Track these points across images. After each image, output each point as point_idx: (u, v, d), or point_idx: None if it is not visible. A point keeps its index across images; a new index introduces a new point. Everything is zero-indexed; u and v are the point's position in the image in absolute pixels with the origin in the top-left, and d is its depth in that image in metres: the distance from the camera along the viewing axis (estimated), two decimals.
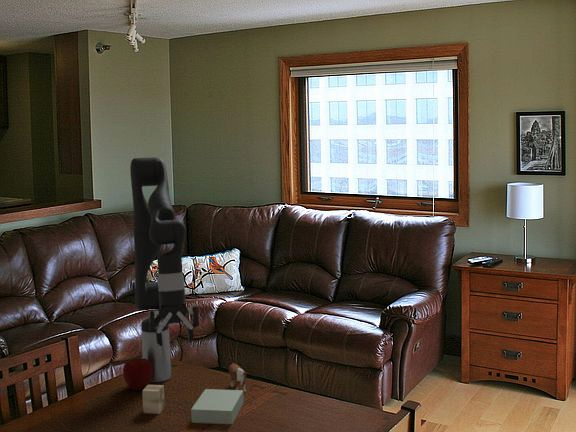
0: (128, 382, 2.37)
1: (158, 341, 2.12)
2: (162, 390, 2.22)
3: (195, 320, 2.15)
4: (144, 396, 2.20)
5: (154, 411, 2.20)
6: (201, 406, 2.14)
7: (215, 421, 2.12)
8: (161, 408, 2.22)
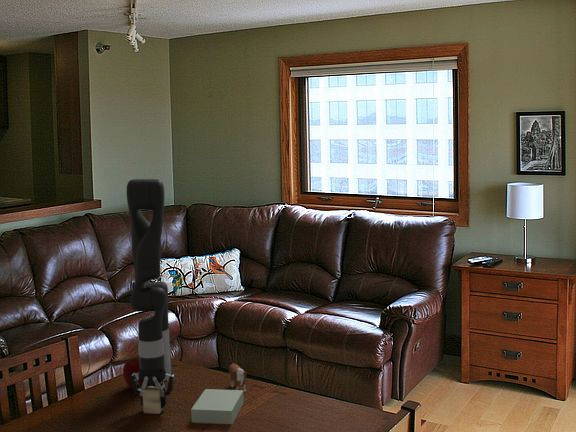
0: (128, 382, 2.37)
1: (142, 403, 2.22)
2: None
3: (168, 389, 2.20)
4: (144, 396, 2.20)
5: (154, 411, 2.20)
6: (201, 406, 2.14)
7: (215, 421, 2.12)
8: None
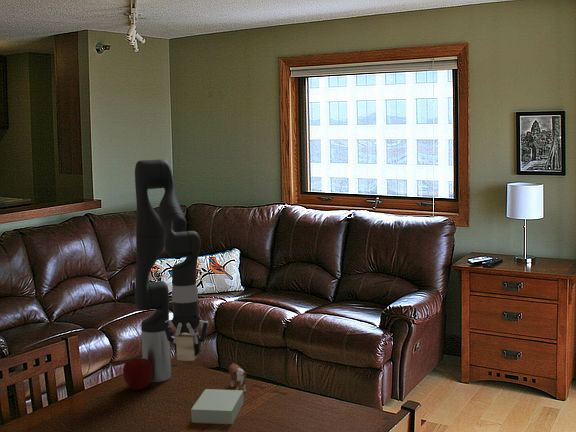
0: (128, 382, 2.37)
1: (175, 350, 2.18)
2: None
3: (202, 335, 2.15)
4: (178, 343, 2.16)
5: (188, 358, 2.16)
6: (201, 406, 2.14)
7: (215, 421, 2.12)
8: None
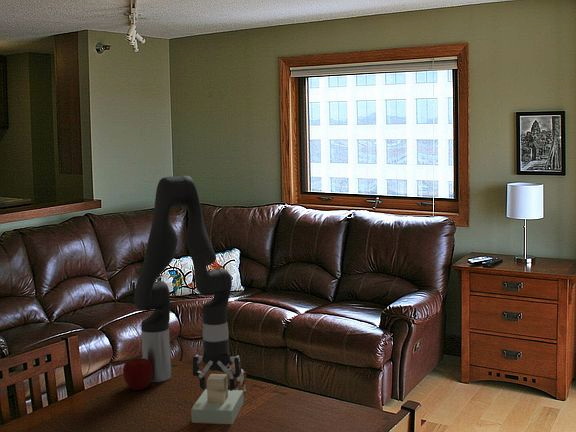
0: (128, 382, 2.37)
1: (200, 385, 2.19)
2: (225, 379, 2.19)
3: (236, 371, 2.16)
4: (209, 386, 2.16)
5: (218, 400, 2.17)
6: (201, 406, 2.14)
7: (215, 421, 2.12)
8: (225, 397, 2.18)
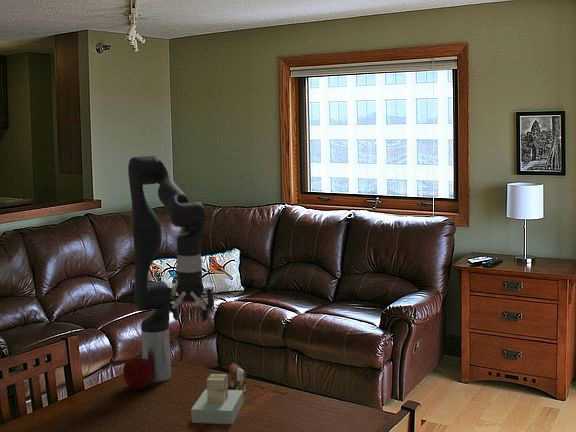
0: (128, 382, 2.37)
1: (174, 315, 2.24)
2: (225, 379, 2.19)
3: (208, 302, 2.21)
4: (209, 386, 2.16)
5: (218, 400, 2.17)
6: (201, 406, 2.14)
7: (215, 421, 2.12)
8: (225, 397, 2.18)
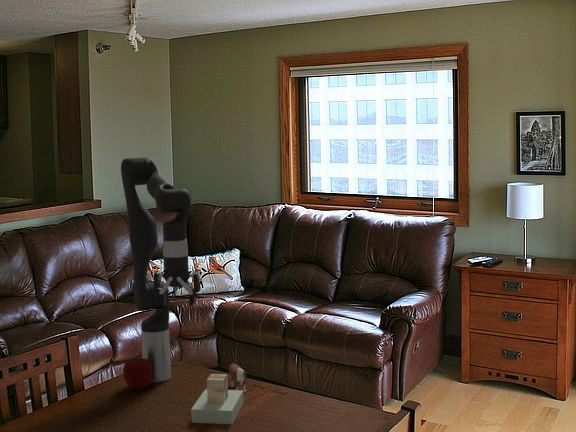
0: (128, 382, 2.37)
1: (161, 301, 2.27)
2: (225, 379, 2.19)
3: (195, 286, 2.24)
4: (209, 386, 2.16)
5: (218, 400, 2.17)
6: (201, 406, 2.14)
7: (215, 421, 2.12)
8: (225, 397, 2.18)
